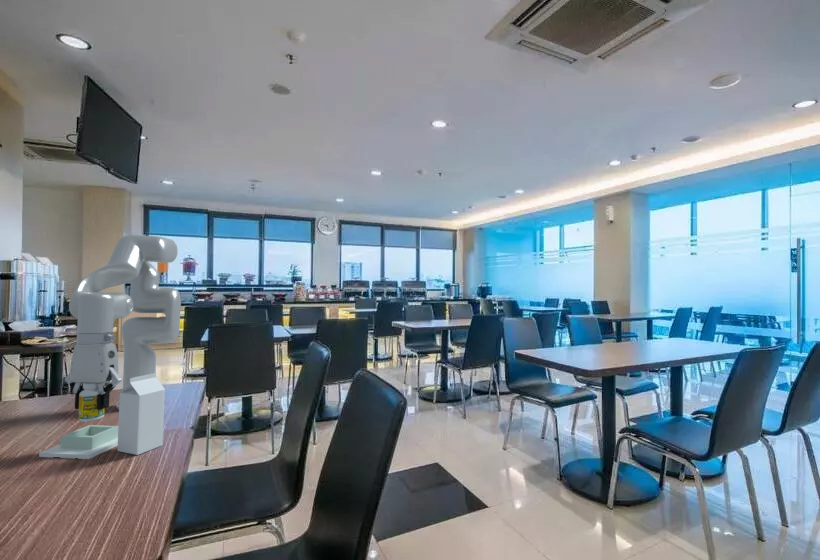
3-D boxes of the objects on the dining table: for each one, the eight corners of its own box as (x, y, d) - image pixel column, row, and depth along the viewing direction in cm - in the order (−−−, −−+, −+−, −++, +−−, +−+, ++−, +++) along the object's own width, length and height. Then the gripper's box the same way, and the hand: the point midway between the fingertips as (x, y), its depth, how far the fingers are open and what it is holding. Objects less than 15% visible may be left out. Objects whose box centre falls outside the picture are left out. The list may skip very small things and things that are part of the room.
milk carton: (163, 445, 106) (165, 374, 106) (136, 455, 99) (140, 379, 99) (143, 442, 108) (146, 372, 108) (117, 451, 101) (120, 377, 102)
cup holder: (91, 435, 112) (92, 420, 112) (135, 436, 111) (135, 422, 112) (39, 456, 97) (39, 440, 97) (88, 459, 96) (89, 442, 97)
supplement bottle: (102, 414, 108) (104, 379, 109) (105, 419, 104) (107, 382, 105) (77, 418, 104) (78, 381, 105) (79, 423, 101) (80, 385, 101)
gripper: (136, 338, 109) (133, 405, 108) (77, 337, 110) (74, 403, 109) (114, 341, 101) (111, 413, 100) (51, 340, 102) (47, 411, 101)
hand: (91, 407), depth 105 cm, fingers closed on supplement bottle, 5 cm apart
